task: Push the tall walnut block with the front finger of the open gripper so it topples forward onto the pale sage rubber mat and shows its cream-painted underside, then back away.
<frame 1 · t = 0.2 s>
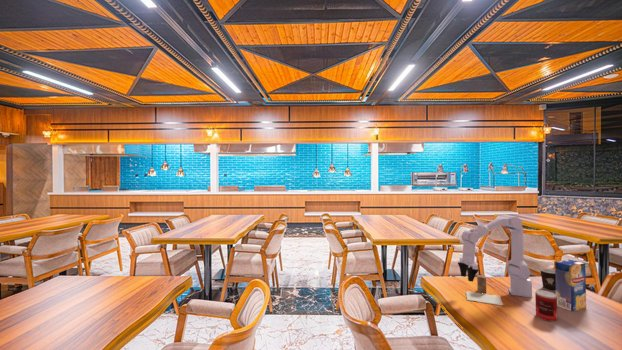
hand: (466, 278, 152), 11 cm above the table, tool pointing down, fingers open, 7 cm apart
canned food: (546, 317, 130), on the table
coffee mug: (553, 289, 161), on the table
blue cardboard box: (570, 306, 140), on the table
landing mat: (483, 298, 151), on the table
walnut block: (481, 292, 159), on the table
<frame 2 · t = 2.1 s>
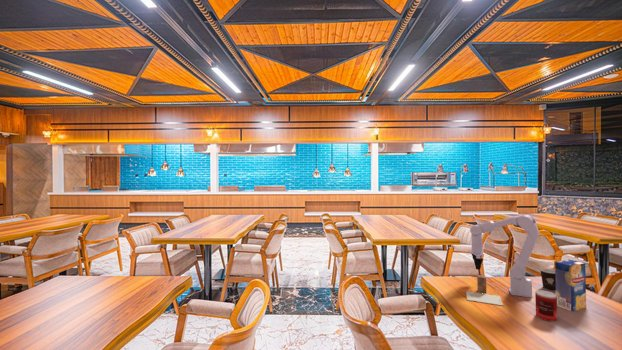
hand: (477, 267, 170), 10 cm above the table, tool pointing down, fingers open, 7 cm apart
nothing on the table moved.
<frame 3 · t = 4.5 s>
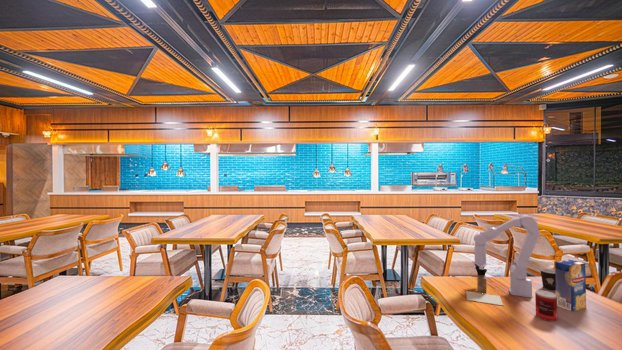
hand: (480, 278, 164), 6 cm above the table, tool pointing down, fingers open, 7 cm apart
walnut block: (481, 291, 159), on the table, tilted 9°
everything else where it was.
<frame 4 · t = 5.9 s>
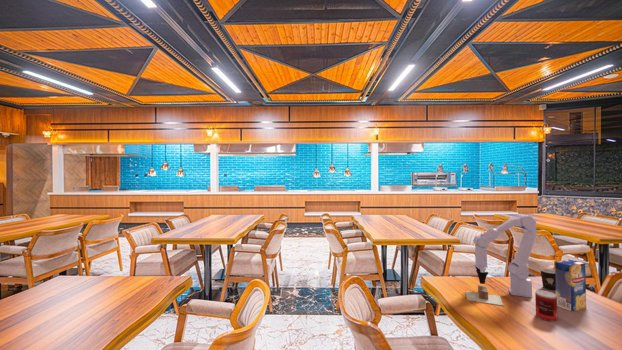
hand: (481, 281, 160), 6 cm above the table, tool pointing down, fingers open, 7 cm apart
walnut block: (482, 289, 157), point 2 cm above the table, tilted 90°, touching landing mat
everything else where it was.
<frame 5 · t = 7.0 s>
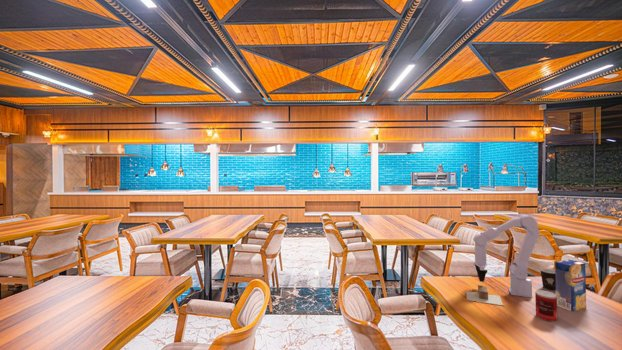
hand: (480, 279, 163), 6 cm above the table, tool pointing down, fingers open, 7 cm apart
nothing on the table moved.
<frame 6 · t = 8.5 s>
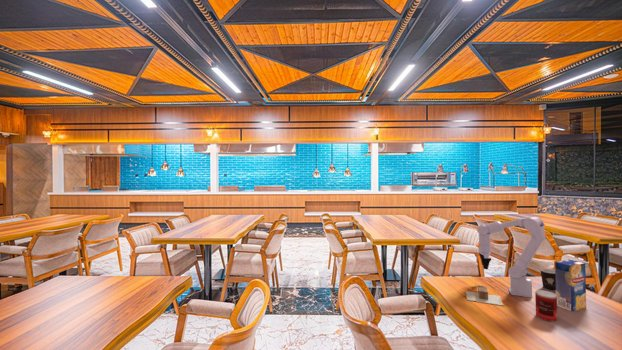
hand: (485, 267, 170), 10 cm above the table, tool pointing down, fingers open, 7 cm apart
nothing on the table moved.
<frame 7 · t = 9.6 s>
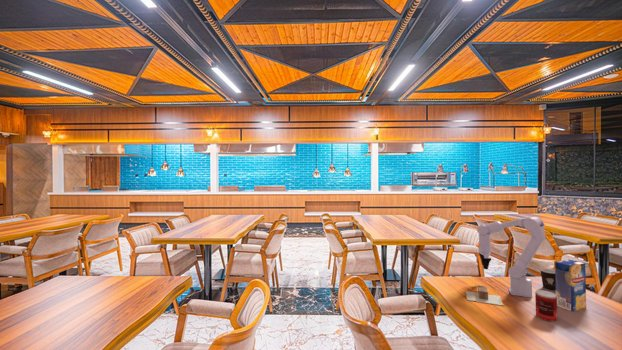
hand: (485, 267, 170), 10 cm above the table, tool pointing down, fingers open, 7 cm apart
nothing on the table moved.
at the end: walnut block tilted 90°; walnut block touching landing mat; walnut block inside the target area (4.6 cm from its centre), point 2.4 cm above the table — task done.
